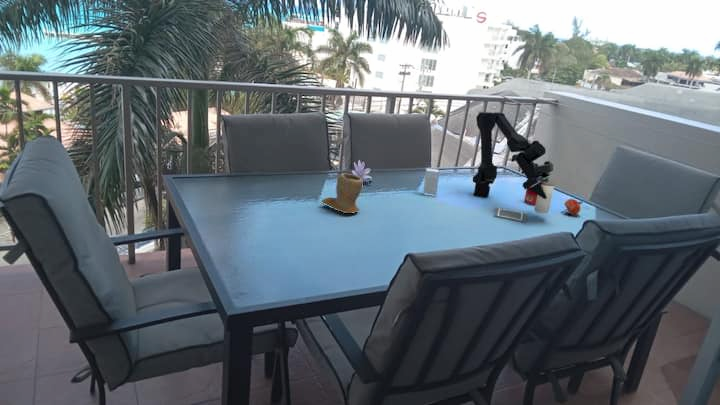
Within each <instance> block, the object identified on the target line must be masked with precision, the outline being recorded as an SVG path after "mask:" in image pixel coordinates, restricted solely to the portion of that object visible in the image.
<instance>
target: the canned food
mask: <svg viewBox="0 0 720 405" xmlns="http://www.w3.org/2000/svg"><path fill="white" fill-rule="evenodd" d="M529 188H531V187H529ZM529 188H527V189H526V190H525V196H524V203H525V204H528V205H531V206H535V204H536V200H537V194H536V193H534V192H532V191H531V190H528V189H529Z"/></svg>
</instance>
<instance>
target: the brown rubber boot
mask: <svg viewBox="0 0 720 405" xmlns="http://www.w3.org/2000/svg"><path fill="white" fill-rule="evenodd" d="M363 182H364V180H363V179H361V178H360V177H358V176H356V175H354V174H353V173H346V172H342V173H341V174H339V175H338V176H337V181H336V197H326V198H324V199H321V201H320V203H321V202H323V203H325V204H327V205H329V206H331V207H333V208H335V209H337V210H339V211H341V212H345V213H352V212H356V211H358V210H359V211H360V208H359V207H358V206H357V204H356V203H357V202H356V201H357V200H358V198H359V195H360V194H361V192H362V188H363ZM339 211H338V212H339ZM359 211H358V212H359ZM341 212H340V213H341Z"/></svg>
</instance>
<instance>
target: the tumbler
mask: <svg viewBox="0 0 720 405" xmlns="http://www.w3.org/2000/svg"><path fill="white" fill-rule="evenodd" d="M541 181H542V188H543V190H544V192H545V194H546V197H547V198H546V199H544V198H542V197H540V196H539V195H537V200H536V204H535V205H534V212H537V213H539V214H548V213H549V211H550V207H551V202H552V198H553V194H554V193H553V192H554V189H555V186H556V182H555V181H553V180H550V179H548V180H545V179H542V180H540V182H541Z"/></svg>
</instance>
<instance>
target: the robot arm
mask: <svg viewBox="0 0 720 405" xmlns="http://www.w3.org/2000/svg"><path fill="white" fill-rule="evenodd" d="M496 126H497V127H498V129H499V130H500V131H501V133H502V135H503V136H504V138H505V139H506V145H507V148H508V149H509V151H510V152H511V153H514V154H512V155H511V163H514V162H516V163H517V165H518V168H520V169H521V174H522V175H524V176H525V177H526V178H527V179H526V181H524V182H523V183H522V188H523V190H525V191H526V190H527V188H529V187H531V188H529V189H528V190H531V191H532V192H534V193H536V194H537V195H539V196H540V197H542V198H544V199H546V198H547V197H546V194H545V192H544V190H543V188H542V181H541V182H540V180H542V179H545V180H550V179H549V178H550V176H551V172H554V164H553V163H552V162H551V161H550V160H547V161H544V163H543V164H540V165H539V163H537V162H536V163H535V161H537V160H538V159H539V158H541V157H543V156H544V155H545V154H546V151H547V150H546V146H545V147H544V145H543V144H542V143H541V142H540V141H539V140H533V141H532V142H531V143H529V141H528V140H527V139H526V138H525V137H524V136H523V135H522V134H520V133H518V132H517V131H516V129H515V127H514V126H513V125H512V124H511V123H510V121H509V120H508V119H507V117H506V114H505V113H503V112H500V111H499V112H498V111H497V112H491V111H490V112H486V111H485V112H484V111H482V112H478V115H476V127H477V128H478V130H479V132H480V160H481V161H480V163H479V166H478V167H477V173H476V174H475V175H473V177H472V183H474V190H473V194H472V195H473V196H474V197H480V198H485V199H487V198H488V197H489V195H490V190H491V186H490V185H491V184H492V185H493V184H494V182H495V181H496V179H497V177H498V176H497V175H498V167H497V165H494V163H493V130H494V129H495V128H494V127H496ZM515 153H517V154H515Z"/></svg>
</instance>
